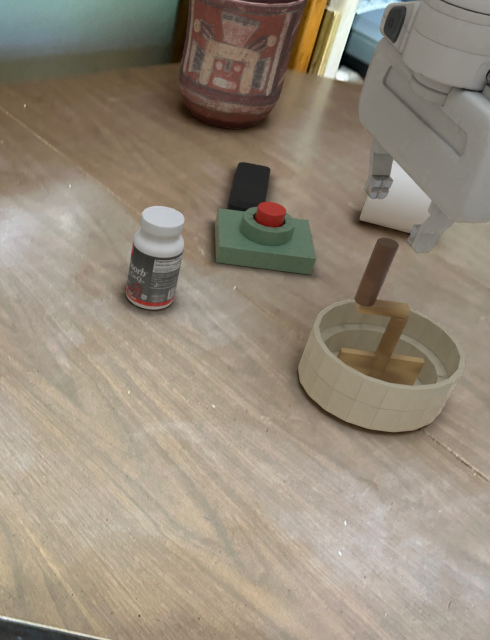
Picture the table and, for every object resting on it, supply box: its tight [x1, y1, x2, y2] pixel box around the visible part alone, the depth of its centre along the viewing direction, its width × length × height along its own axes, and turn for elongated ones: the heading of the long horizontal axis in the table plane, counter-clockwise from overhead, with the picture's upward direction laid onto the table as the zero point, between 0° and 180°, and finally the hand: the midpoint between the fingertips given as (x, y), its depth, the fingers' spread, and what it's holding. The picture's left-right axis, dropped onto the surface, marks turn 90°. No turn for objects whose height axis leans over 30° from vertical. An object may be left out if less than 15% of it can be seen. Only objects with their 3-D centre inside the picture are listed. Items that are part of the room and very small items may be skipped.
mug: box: [359, 159, 432, 234], centre depth 105 cm, size 12×10×8 cm
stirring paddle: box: [337, 236, 425, 386], centre depth 76 cm, size 9×2×15 cm, turn 85°
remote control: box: [226, 161, 271, 212], centre depth 109 cm, size 5×2×15 cm
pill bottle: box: [125, 205, 186, 311], centre depth 86 cm, size 6×6×10 cm
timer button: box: [255, 201, 287, 228], centre depth 96 cm, size 4×4×2 cm
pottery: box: [178, 0, 308, 130], centre depth 121 cm, size 18×18×18 cm
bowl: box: [297, 298, 467, 433], centre depth 80 cm, size 15×15×6 cm
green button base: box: [214, 207, 317, 276], centre depth 98 cm, size 12×10×4 cm
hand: (395, 221), depth 68 cm, fingers open, 8 cm apart
